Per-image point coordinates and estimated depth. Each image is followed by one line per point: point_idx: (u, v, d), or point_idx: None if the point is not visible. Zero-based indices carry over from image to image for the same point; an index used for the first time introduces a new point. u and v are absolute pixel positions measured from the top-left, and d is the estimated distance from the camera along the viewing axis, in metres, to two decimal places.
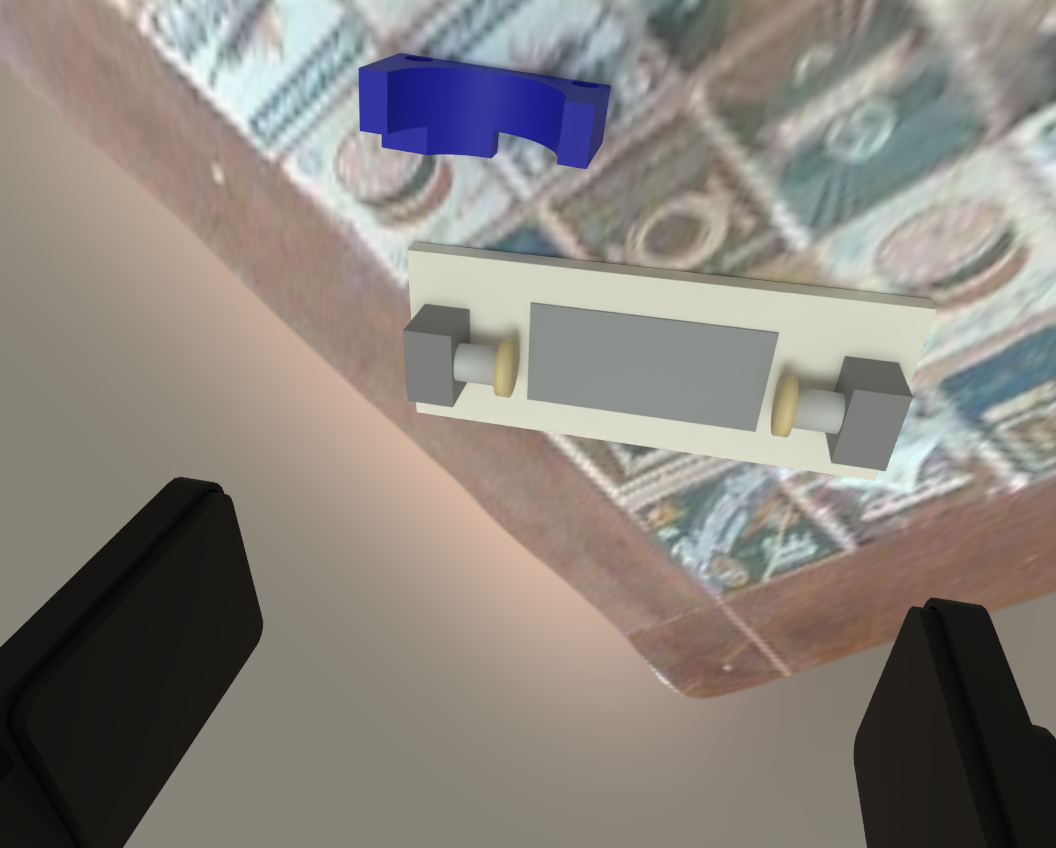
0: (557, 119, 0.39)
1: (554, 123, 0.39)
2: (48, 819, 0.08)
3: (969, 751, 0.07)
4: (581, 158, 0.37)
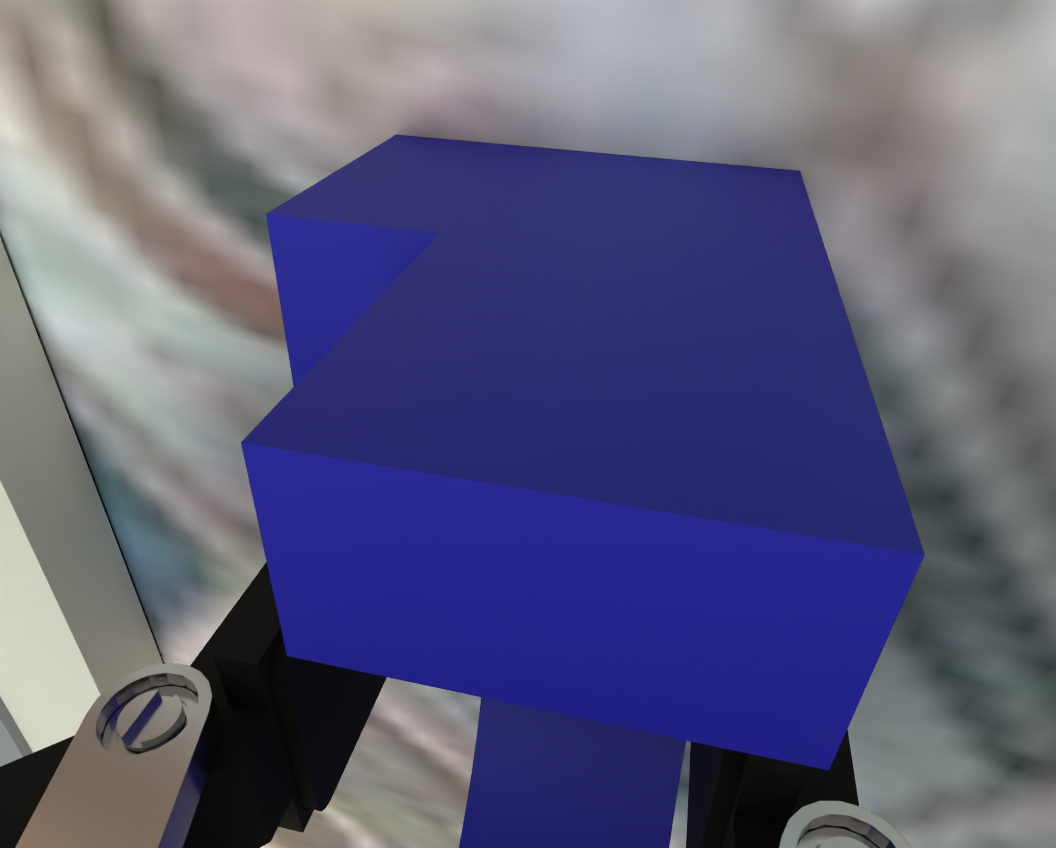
0: None
1: None
2: (284, 767, 0.09)
3: None
4: None
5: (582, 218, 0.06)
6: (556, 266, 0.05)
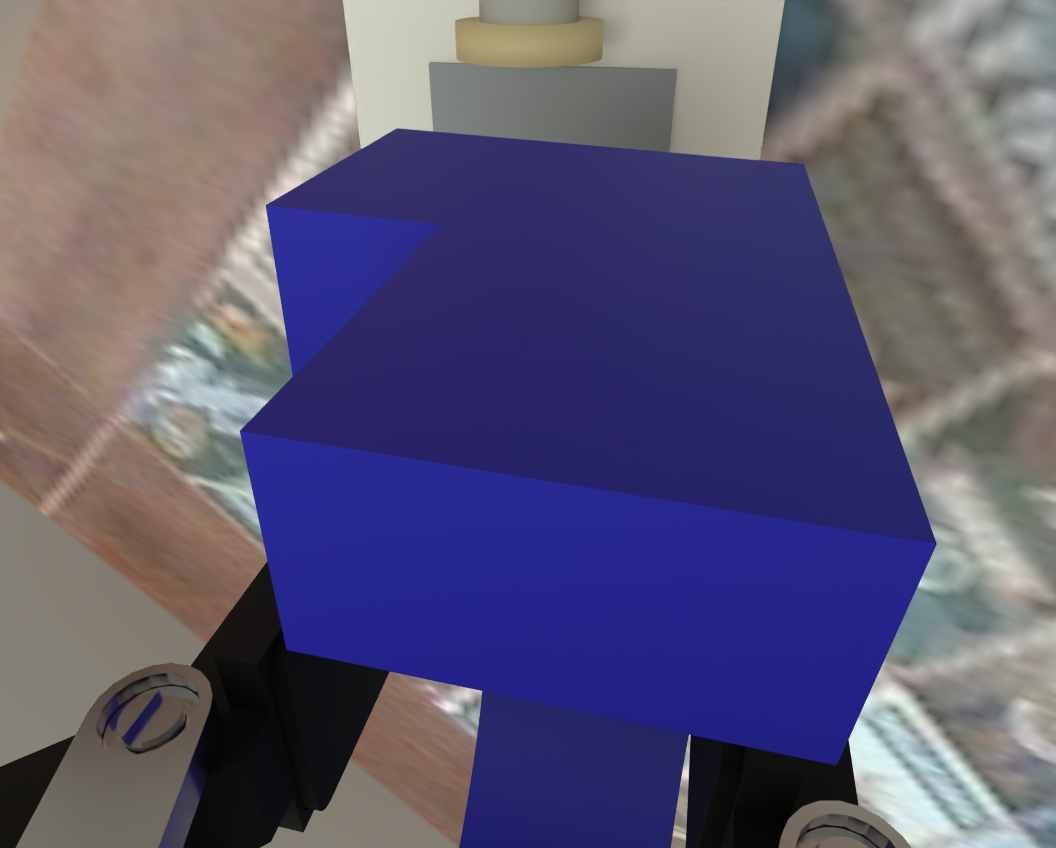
0: None
1: None
2: (284, 766, 0.09)
3: None
4: None
5: (583, 211, 0.06)
6: (561, 256, 0.05)
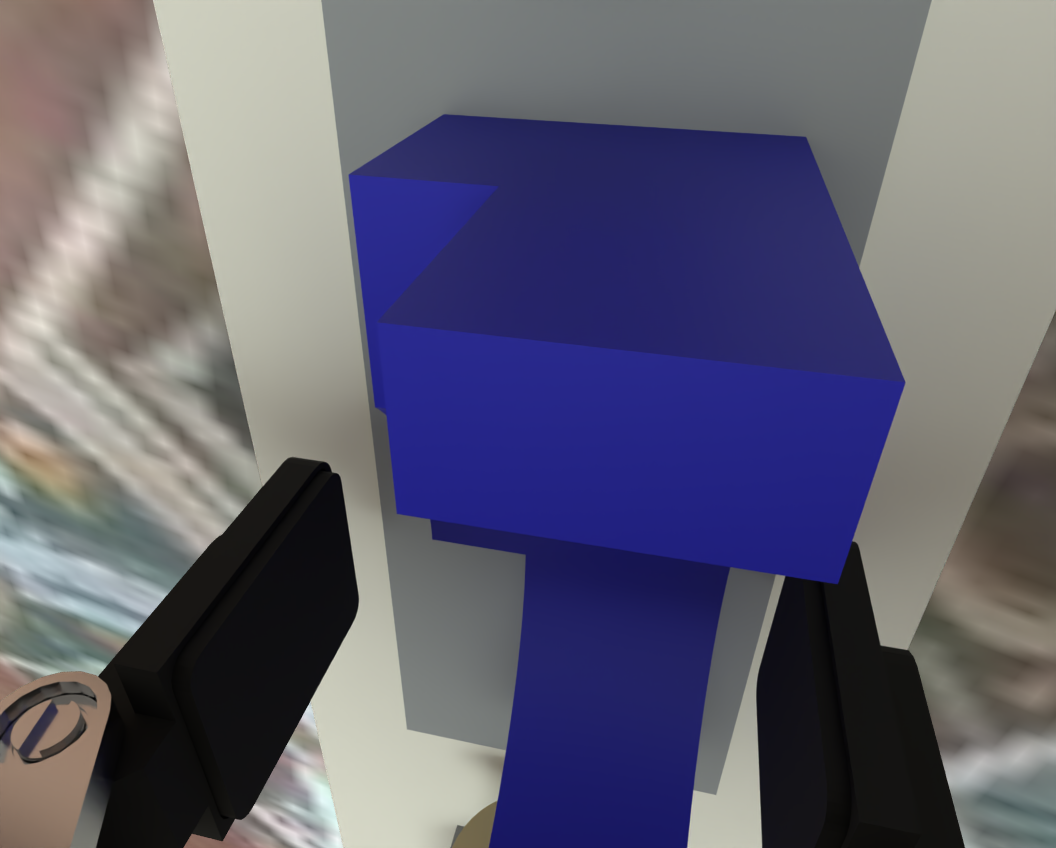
0: None
1: (578, 830, 0.12)
2: (196, 775, 0.09)
3: (821, 659, 0.08)
4: None
5: (617, 174, 0.07)
6: (603, 207, 0.06)
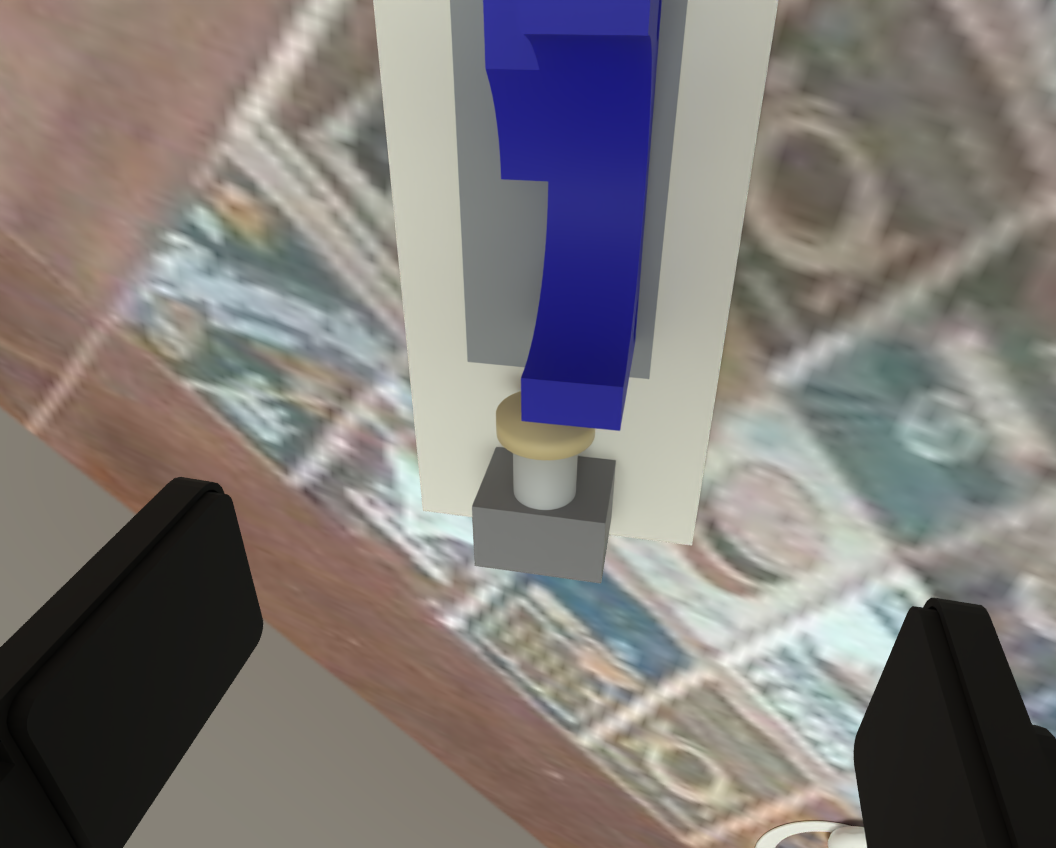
0: (585, 329, 0.23)
1: (578, 321, 0.23)
2: (48, 818, 0.08)
3: (969, 751, 0.07)
4: (535, 414, 0.23)
5: None
6: None
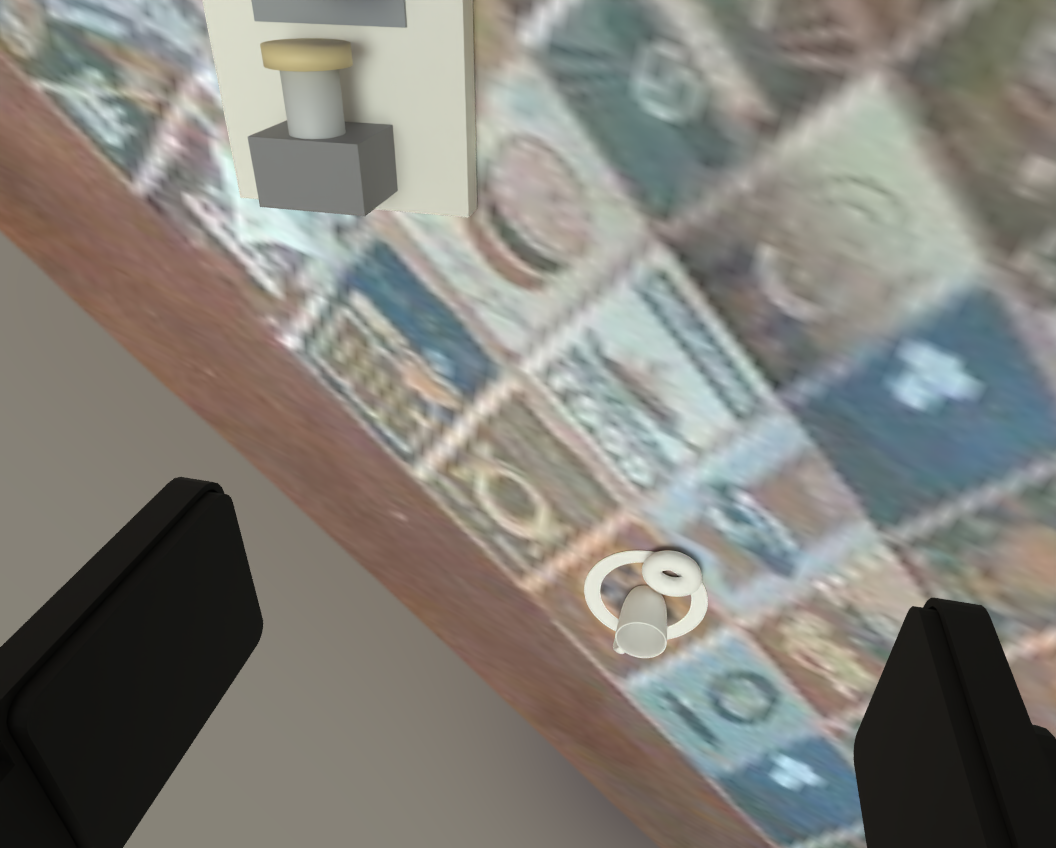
0: None
1: None
2: (48, 818, 0.08)
3: (969, 751, 0.07)
4: None
5: None
6: None
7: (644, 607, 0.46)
